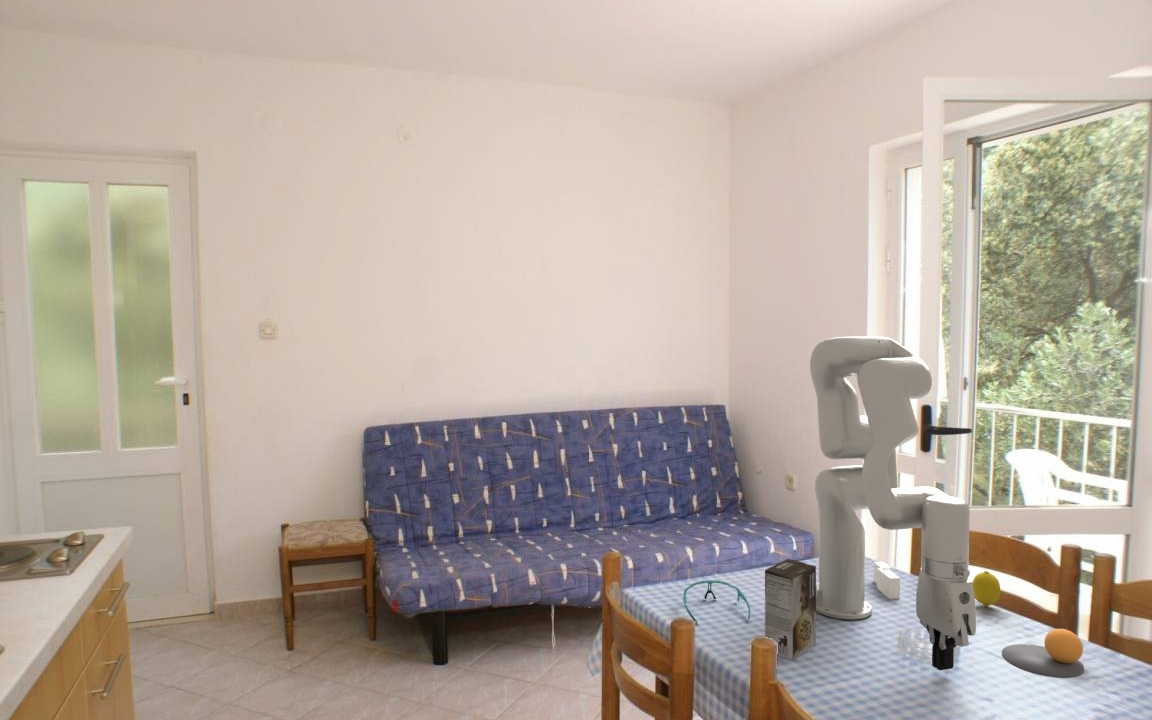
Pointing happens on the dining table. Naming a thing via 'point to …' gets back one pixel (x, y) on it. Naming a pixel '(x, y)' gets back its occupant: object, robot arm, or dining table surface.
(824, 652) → the dining table surface
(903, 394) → the robot arm
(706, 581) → the safety glasses
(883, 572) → the napkin holder
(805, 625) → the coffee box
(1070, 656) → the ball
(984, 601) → the lemon
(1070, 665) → the gray round disc
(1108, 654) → the dining table surface
